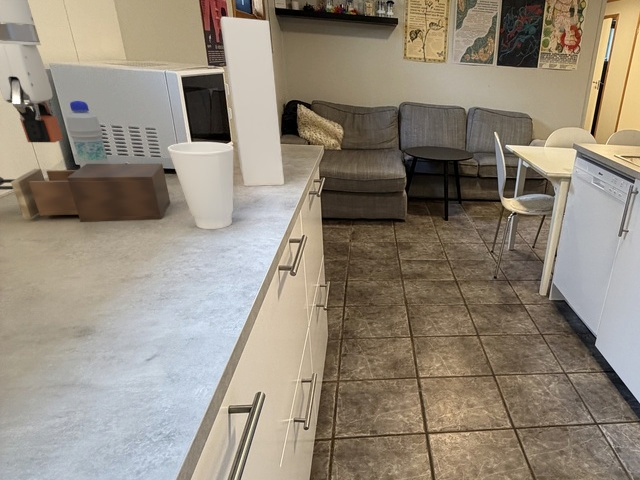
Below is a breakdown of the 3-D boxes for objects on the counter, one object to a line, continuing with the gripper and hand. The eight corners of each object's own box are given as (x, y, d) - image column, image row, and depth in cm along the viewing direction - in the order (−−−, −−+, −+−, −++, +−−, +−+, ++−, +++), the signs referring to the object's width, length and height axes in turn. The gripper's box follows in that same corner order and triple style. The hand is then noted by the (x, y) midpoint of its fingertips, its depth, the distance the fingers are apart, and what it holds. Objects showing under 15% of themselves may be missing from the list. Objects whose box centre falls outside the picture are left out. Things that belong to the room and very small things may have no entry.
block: (27, 142, 91) (19, 118, 89) (36, 138, 95) (29, 115, 93) (55, 142, 92) (47, 118, 90) (63, 138, 96) (56, 115, 94)
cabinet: (80, 221, 97) (66, 177, 92) (97, 204, 107) (86, 163, 103) (161, 219, 101) (151, 176, 97) (170, 202, 112) (162, 163, 108)
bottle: (119, 181, 124) (98, 100, 115) (112, 188, 119) (89, 102, 109) (89, 181, 122) (65, 98, 113) (80, 188, 117) (54, 101, 107)
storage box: (284, 184, 133) (269, 20, 114) (244, 186, 129) (221, 16, 110) (275, 168, 149) (261, 23, 131) (240, 169, 145) (220, 19, 127)
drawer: (-17, 219, 92) (-32, 182, 88) (9, 203, 101) (-4, 168, 98) (103, 215, 98) (93, 180, 95) (117, 200, 107) (108, 168, 104)
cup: (224, 212, 108) (212, 139, 101) (255, 224, 103) (245, 148, 95) (171, 223, 100) (155, 145, 92) (202, 237, 94) (187, 155, 86)
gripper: (6, 33, 91) (38, 132, 99) (-40, 32, 77) (2, 147, 85) (53, 36, 93) (81, 133, 102) (17, 36, 79) (52, 147, 88)
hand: (45, 138), depth 93 cm, fingers closed on block, 4 cm apart
